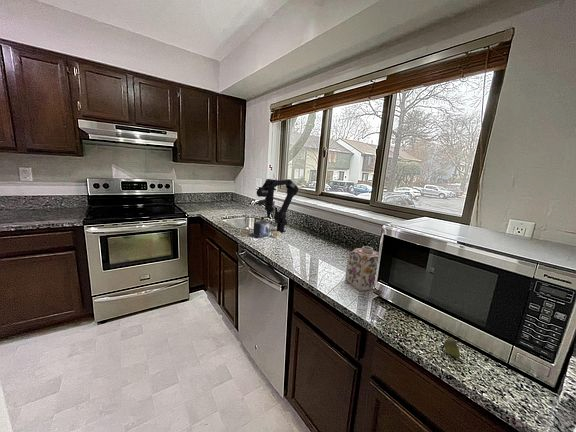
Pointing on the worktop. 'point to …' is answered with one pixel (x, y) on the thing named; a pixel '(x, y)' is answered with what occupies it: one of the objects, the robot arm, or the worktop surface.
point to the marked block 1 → (245, 232)
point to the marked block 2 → (276, 234)
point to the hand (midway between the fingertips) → (268, 217)
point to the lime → (451, 347)
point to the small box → (261, 229)
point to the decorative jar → (362, 268)
